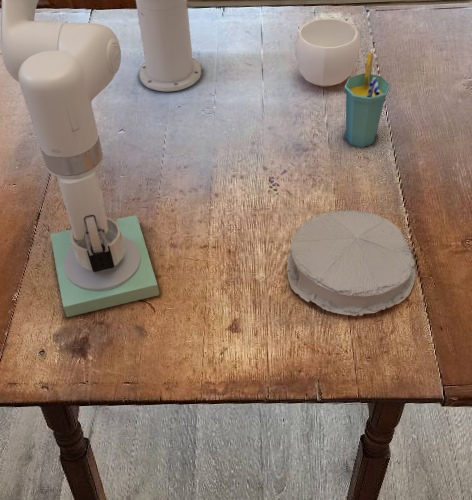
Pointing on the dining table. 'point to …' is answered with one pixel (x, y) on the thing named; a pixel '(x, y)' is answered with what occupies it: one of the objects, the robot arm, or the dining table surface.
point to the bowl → (112, 240)
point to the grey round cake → (350, 262)
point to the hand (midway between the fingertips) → (99, 249)
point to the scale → (104, 273)
